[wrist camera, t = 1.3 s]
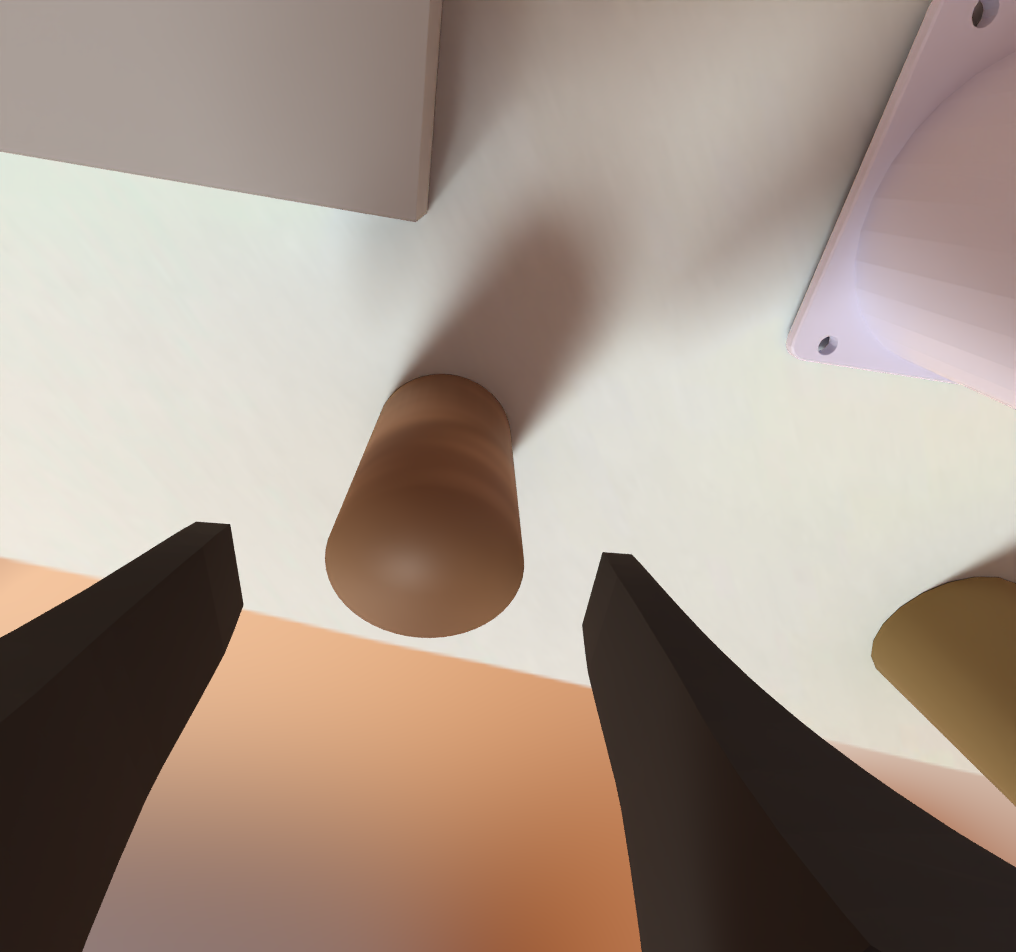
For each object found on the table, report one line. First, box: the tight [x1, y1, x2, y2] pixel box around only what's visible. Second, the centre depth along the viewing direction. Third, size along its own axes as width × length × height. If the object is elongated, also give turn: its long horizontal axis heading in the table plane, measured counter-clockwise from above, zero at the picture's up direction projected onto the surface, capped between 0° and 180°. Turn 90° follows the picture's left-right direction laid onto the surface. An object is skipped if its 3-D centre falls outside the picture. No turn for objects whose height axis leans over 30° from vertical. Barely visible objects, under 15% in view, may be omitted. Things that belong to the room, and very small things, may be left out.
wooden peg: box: [325, 374, 524, 638], centre depth 13 cm, size 4×4×6 cm
